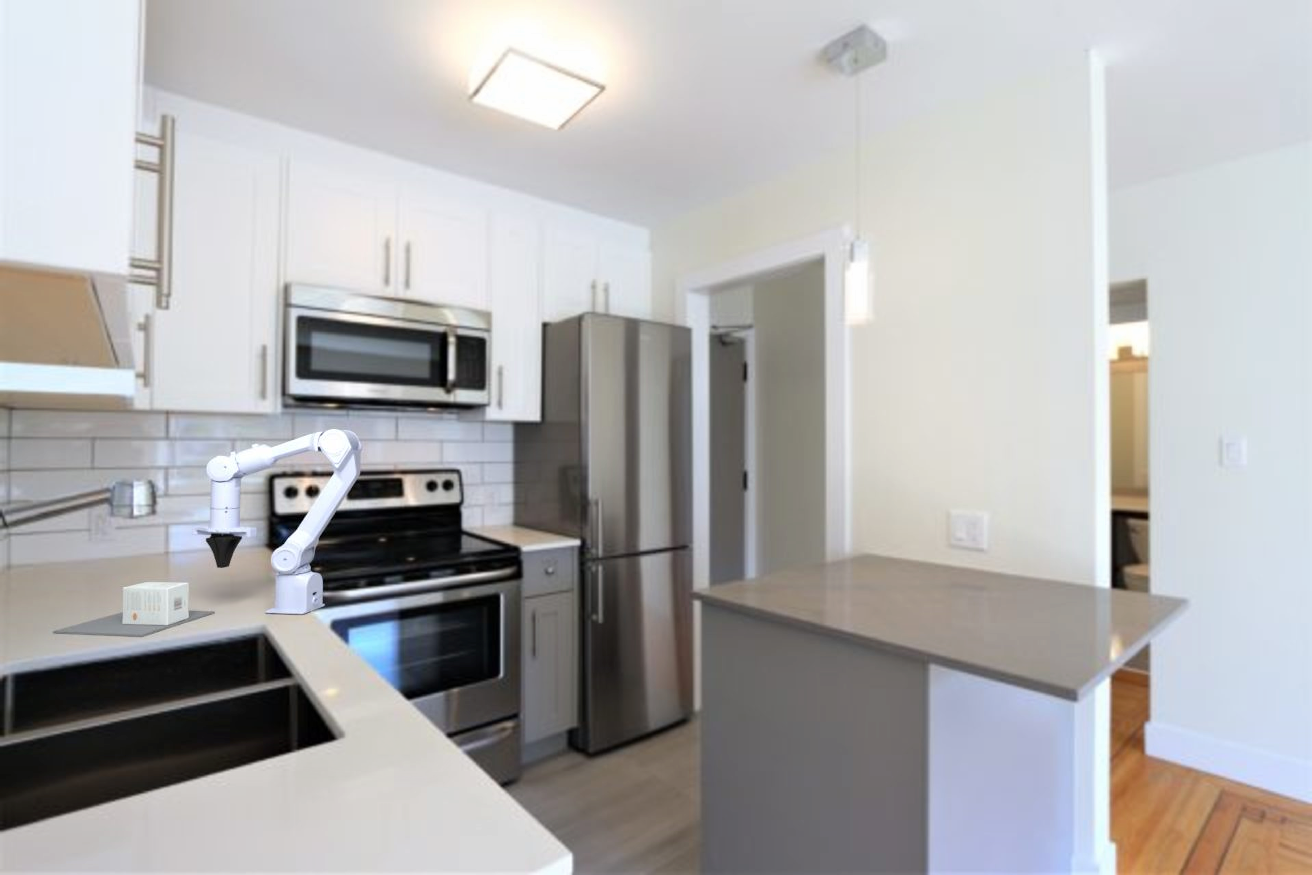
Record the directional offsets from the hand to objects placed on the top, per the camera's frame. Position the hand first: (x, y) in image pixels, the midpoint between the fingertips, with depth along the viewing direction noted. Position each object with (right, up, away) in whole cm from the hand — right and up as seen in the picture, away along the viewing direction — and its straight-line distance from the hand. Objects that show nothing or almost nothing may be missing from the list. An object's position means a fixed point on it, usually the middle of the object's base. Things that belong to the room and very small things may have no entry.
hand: (223, 567), depth 143 cm
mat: (-12, -10, -9) cm, 18 cm away
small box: (-2, -6, -10) cm, 12 cm away
